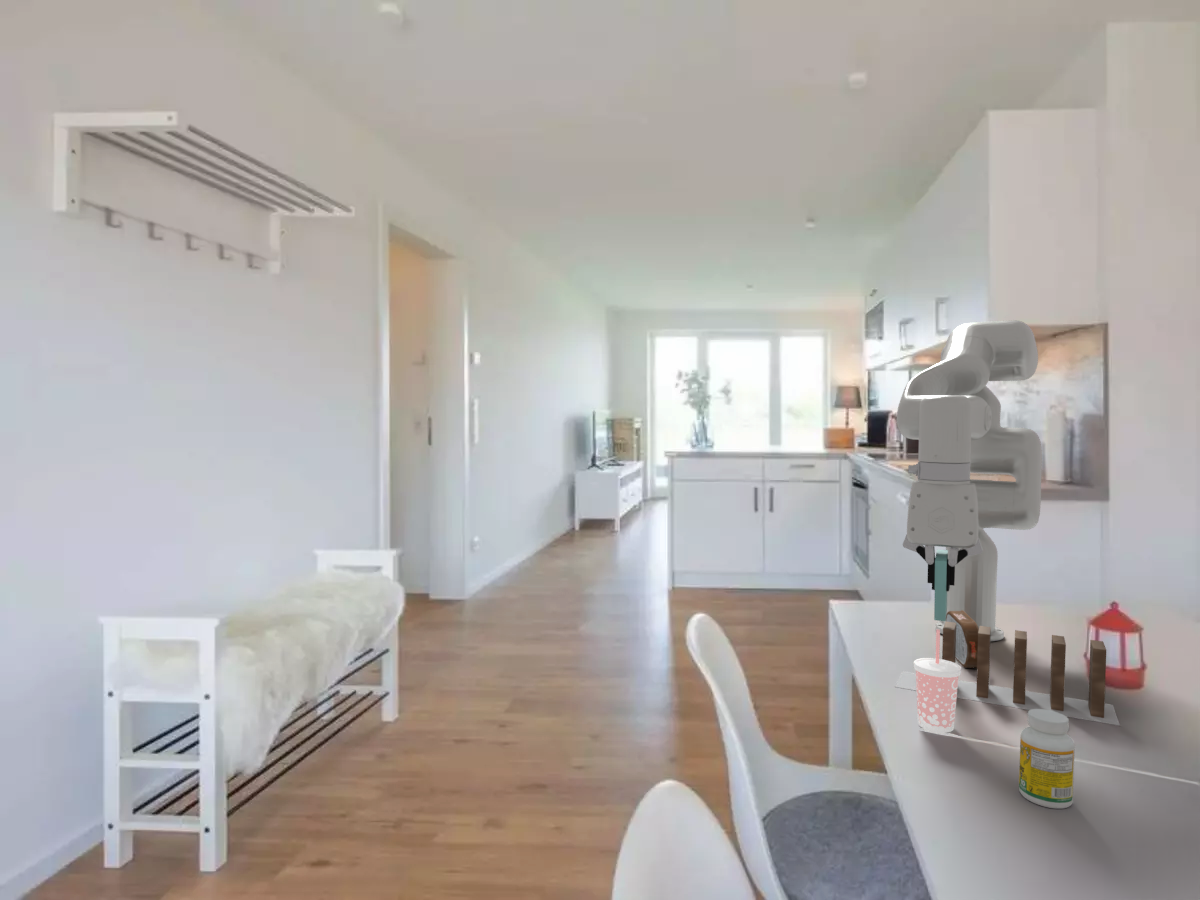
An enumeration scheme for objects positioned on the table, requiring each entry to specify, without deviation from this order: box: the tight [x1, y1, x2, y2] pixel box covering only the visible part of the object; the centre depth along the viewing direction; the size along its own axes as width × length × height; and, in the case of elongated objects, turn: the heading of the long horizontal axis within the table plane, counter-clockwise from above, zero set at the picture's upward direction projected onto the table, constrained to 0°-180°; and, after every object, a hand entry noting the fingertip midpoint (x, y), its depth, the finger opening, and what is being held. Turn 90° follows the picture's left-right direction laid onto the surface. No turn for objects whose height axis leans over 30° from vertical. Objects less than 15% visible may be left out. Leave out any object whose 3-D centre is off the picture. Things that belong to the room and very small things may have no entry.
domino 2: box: [941, 622, 956, 663], centre depth 121 cm, size 2×5×10 cm, turn 151°
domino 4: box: [1012, 629, 1028, 705], centre depth 116 cm, size 2×5×10 cm, turn 151°
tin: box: [946, 610, 979, 669], centre depth 135 cm, size 15×3×8 cm, turn 168°
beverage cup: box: [913, 629, 962, 735], centre depth 105 cm, size 6×6×14 cm
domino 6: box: [1087, 639, 1107, 718], centre depth 111 cm, size 2×5×10 cm, turn 151°
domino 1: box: [933, 549, 948, 622], centre depth 119 cm, size 2×5×10 cm, turn 153°
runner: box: [894, 670, 1120, 726], centre depth 117 cm, size 30×9×1 cm, turn 61°
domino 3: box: [976, 626, 991, 698], centre depth 118 cm, size 2×5×10 cm, turn 151°
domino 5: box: [1049, 634, 1067, 711], centre depth 113 cm, size 2×5×10 cm, turn 151°
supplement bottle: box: [1018, 709, 1076, 810], centre depth 85 cm, size 5×5×10 cm
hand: (940, 588), depth 119 cm, fingers closed on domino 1, 1 cm apart
